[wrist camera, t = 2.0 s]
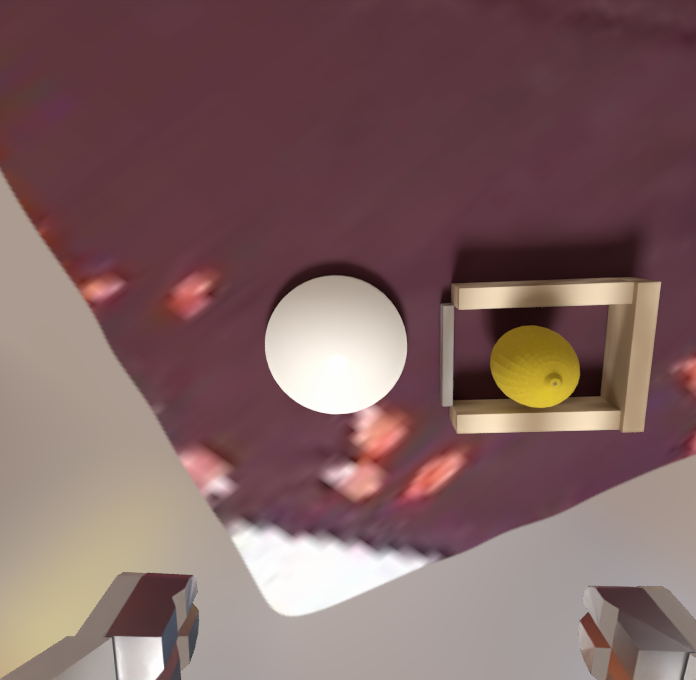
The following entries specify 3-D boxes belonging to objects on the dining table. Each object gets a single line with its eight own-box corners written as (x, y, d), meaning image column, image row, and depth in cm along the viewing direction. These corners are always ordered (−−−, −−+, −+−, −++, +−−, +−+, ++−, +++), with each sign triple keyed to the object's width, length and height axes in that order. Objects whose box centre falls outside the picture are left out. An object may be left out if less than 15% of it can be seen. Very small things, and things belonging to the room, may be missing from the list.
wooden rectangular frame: (631, 276, 35) (660, 282, 31) (617, 413, 37) (643, 431, 34) (440, 283, 35) (448, 289, 32) (439, 417, 38) (447, 436, 34)
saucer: (405, 272, 35) (406, 273, 34) (406, 407, 38) (407, 412, 37) (261, 277, 36) (259, 279, 35) (273, 411, 38) (270, 415, 37)
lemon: (513, 301, 35) (556, 322, 28) (564, 347, 36) (620, 379, 28) (464, 354, 37) (491, 389, 29) (514, 397, 37) (554, 442, 30)
